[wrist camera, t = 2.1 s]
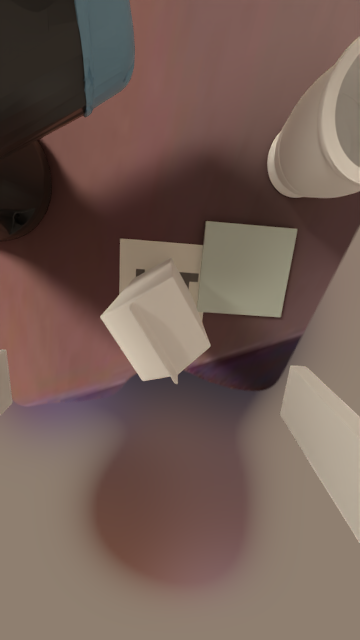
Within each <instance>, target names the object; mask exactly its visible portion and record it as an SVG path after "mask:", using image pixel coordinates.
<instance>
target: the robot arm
mask: <svg viewBox="0 0 360 640" xmlns="http://www.w3.org/2000/svg"><path fill="white" fill-rule="evenodd" d="M134 55H135V44H134V32H133V23H132V16H131V9H130V2H129V0H0V241H6V240H12V239H16V238H19V237H21V236H23V235H25V234H27V233H28V232H30V231H31V230H32V229H34V228H35V227H36V226H37V225H38V224H39V222H40V221H41V220H42V218H43V217H44V215H45V213H46V211H47V208H48V206H49V202H50V198H51V188H52V183H51V173H50V168H49V165H48V161H47V158H46V156H45V153H44V151H43V149H42V147H41V145H40V144H39V142H38V140H39V139H40V138H42V137H44V136H46V135H48V134H50V133H52V132H53V131H55V130H57V129H59V128H61V127H63V126H65V125H66V124H68V123H70V122H72V121H74V120H76V119H78V118H79V117H81V116H84V117H87V116H89V115H90V114H91V113H92V110H93V108H95V107H97V106H98V105H100V104H101V103H103V102H105V101H106V100H108V99H109V98H111V97H112V96H114V95H116V94H117V93H119V92H120V91H122V90H123V89H124V88H125V87H126V86H127V84H128V83H129V81H130V79H131V76H132V72H133V69H134ZM11 404H12V394H11V386H10V377H9V368H8V360H7V351H6V350H0V416H1V415H2V414H3V412H4V411H5V410H6V409H7V408H8V407H9V406H10V405H11ZM280 416H281V417H282V419H283V421H284V422H285V424H286V426H287V427H288V429H289V430H290V432H291V433H292V435H293V437H294V438H295V440H296V442H297V443H298V445H299V446H300V448H301V449H302V451H303V453H304V454H305V456H306V458H307V459H308V461H309V463H310V464H311V466H312V467H313V469H314V471H315V472H316V474H317V475H318V477H319V479H320V480H321V482H322V483H323V485H324V487H325V488H326V490H327V492H328V493H329V495H330V496H331V498H332V499H333V501H334V503H335V504H336V506H337V508H338V509H339V510H340V512H341V514H342V515H343V517H344V519H345V520H346V522H347V524H348V525H349V527H350V529H351V530H352V532H353V533H354V535H355V537H356V538H357V540H358V541H359V543H360V417H359V416H358V415H357V414H356V413H355V412H354V411H353V410H352V409H351V408H350V407H348V406H347V405H346V404H345V403H344V402H343V401H342V400H341V399H340V398H339V397H338V396H337V395H336V394H335V393H334V392H333V391H332V390H331V389H329V388H328V387H327V386H326V385H325V384H324V383H323V382H322V381H321V380H320V379H319V378H318V377H317V376H316V375H315V374H314V373H312V372H311V371H310V370H309V369H308V368H307V367H306V366H292V365H291V366H290V369H289V374H288V379H287V383H286V388H285V393H284V397H283V402H282V407H281V412H280Z"/></svg>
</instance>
